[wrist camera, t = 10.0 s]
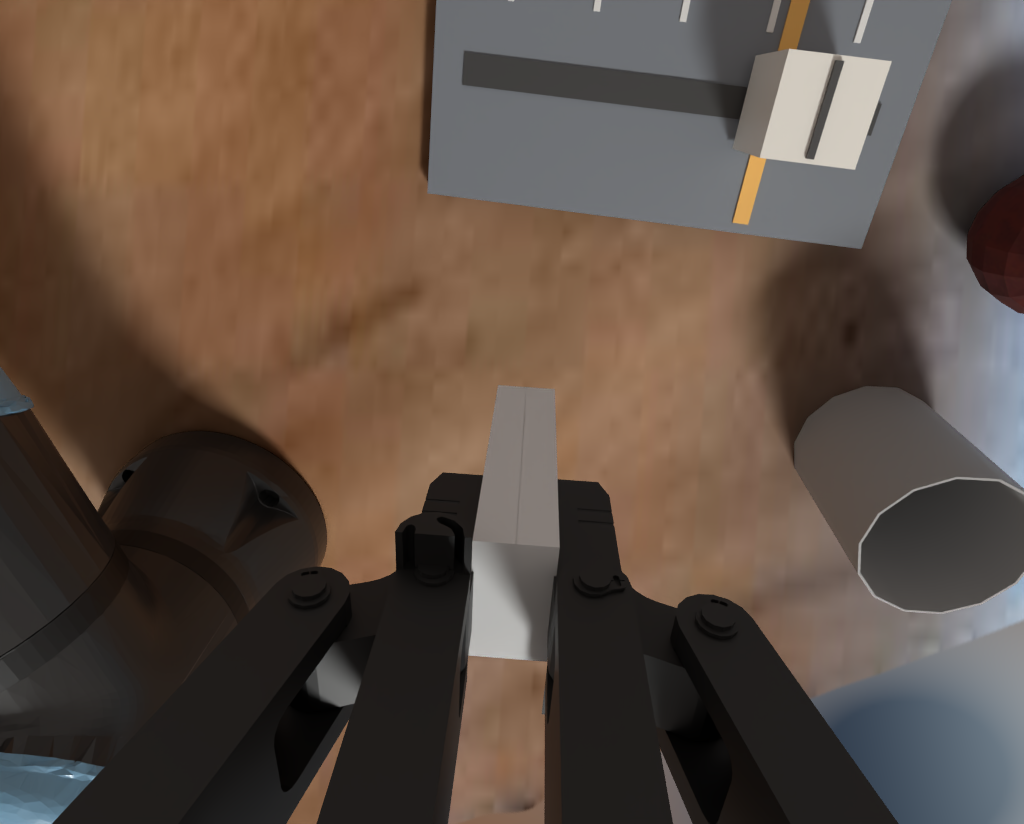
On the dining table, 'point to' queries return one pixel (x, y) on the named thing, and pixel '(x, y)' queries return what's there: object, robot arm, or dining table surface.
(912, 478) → the cup
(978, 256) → the potato
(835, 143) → the fader
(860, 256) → the dining table surface
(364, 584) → the robot arm
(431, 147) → the console
